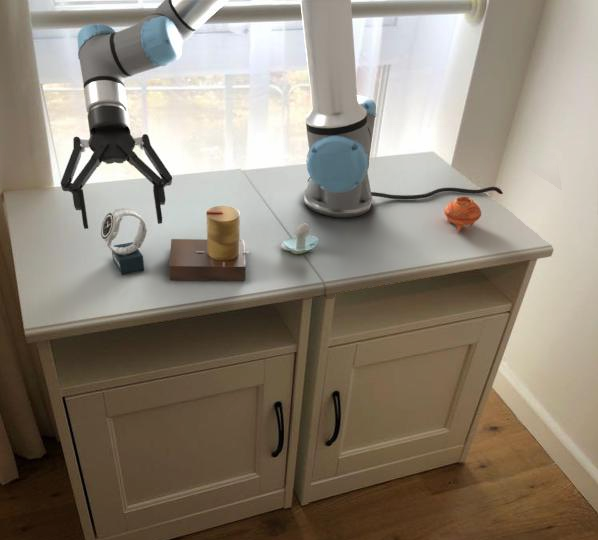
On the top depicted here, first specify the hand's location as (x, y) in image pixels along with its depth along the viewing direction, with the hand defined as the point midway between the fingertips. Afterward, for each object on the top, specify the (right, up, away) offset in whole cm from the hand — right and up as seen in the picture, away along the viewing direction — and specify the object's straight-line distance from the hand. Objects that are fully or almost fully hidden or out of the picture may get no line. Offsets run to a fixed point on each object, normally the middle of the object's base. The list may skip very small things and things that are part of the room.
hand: (123, 224), depth 124 cm
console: (+15, -7, +3) cm, 17 cm away
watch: (+1, -8, +1) cm, 8 cm away
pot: (+68, +5, +22) cm, 72 cm away
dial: (+19, -5, +1) cm, 19 cm away
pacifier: (+33, -3, +10) cm, 34 cm away
